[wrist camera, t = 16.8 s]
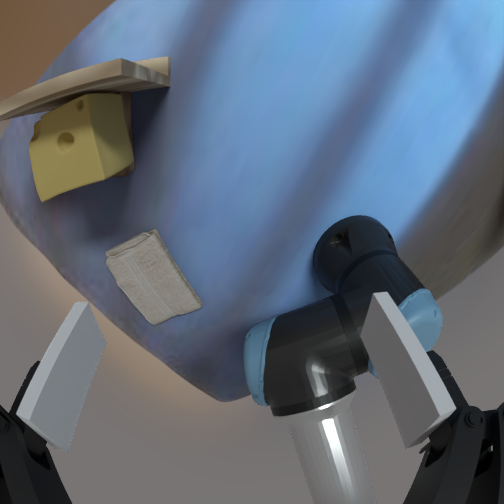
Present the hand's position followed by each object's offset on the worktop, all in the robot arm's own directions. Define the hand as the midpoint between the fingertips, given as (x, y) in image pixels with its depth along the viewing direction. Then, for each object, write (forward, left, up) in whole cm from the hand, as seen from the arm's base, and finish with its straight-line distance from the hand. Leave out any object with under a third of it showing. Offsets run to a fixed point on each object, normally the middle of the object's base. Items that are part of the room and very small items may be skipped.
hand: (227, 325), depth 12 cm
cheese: (+6, +19, -27) cm, 34 cm away
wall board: (+9, +19, -31) cm, 37 cm away
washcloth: (-20, +14, -32) cm, 40 cm away
